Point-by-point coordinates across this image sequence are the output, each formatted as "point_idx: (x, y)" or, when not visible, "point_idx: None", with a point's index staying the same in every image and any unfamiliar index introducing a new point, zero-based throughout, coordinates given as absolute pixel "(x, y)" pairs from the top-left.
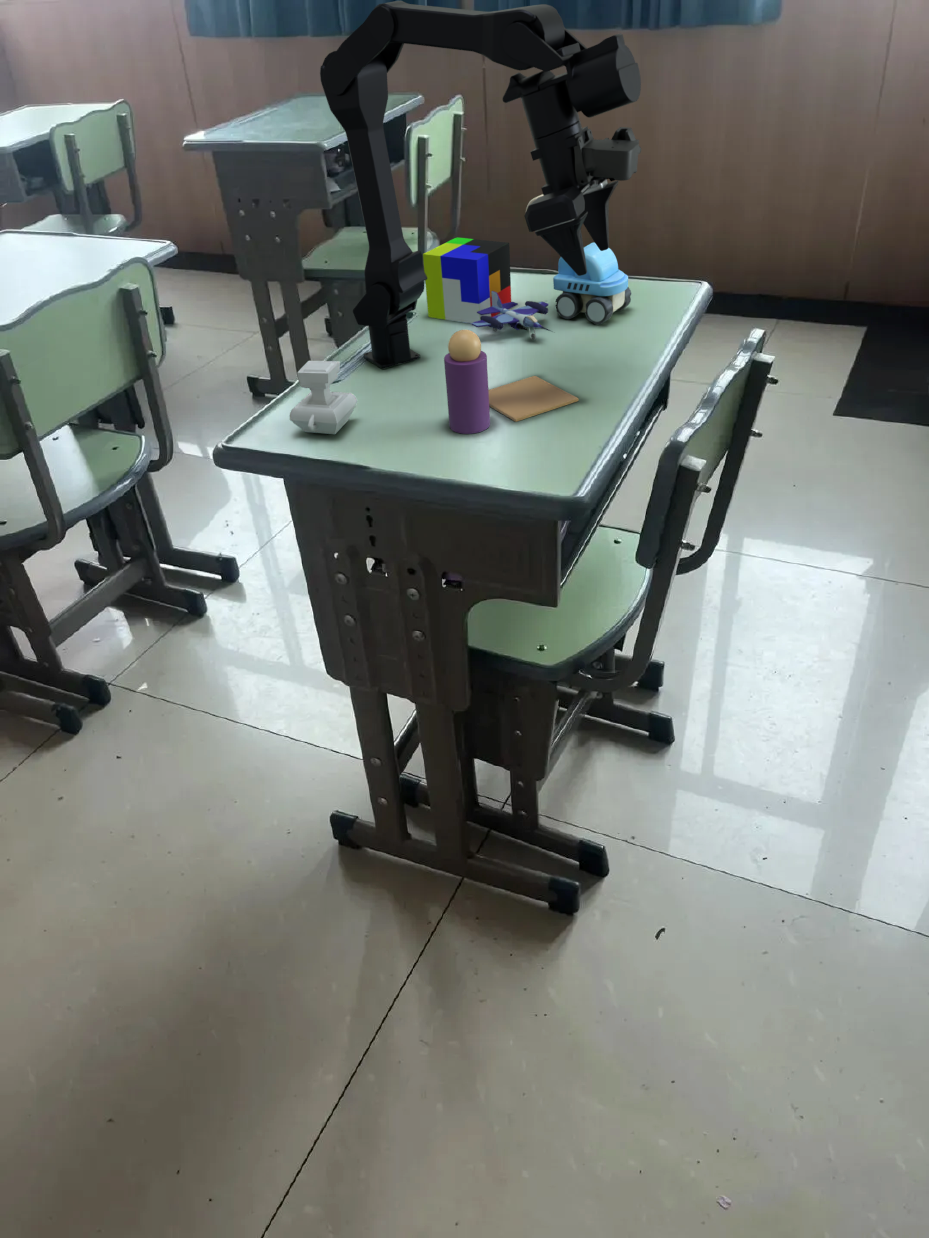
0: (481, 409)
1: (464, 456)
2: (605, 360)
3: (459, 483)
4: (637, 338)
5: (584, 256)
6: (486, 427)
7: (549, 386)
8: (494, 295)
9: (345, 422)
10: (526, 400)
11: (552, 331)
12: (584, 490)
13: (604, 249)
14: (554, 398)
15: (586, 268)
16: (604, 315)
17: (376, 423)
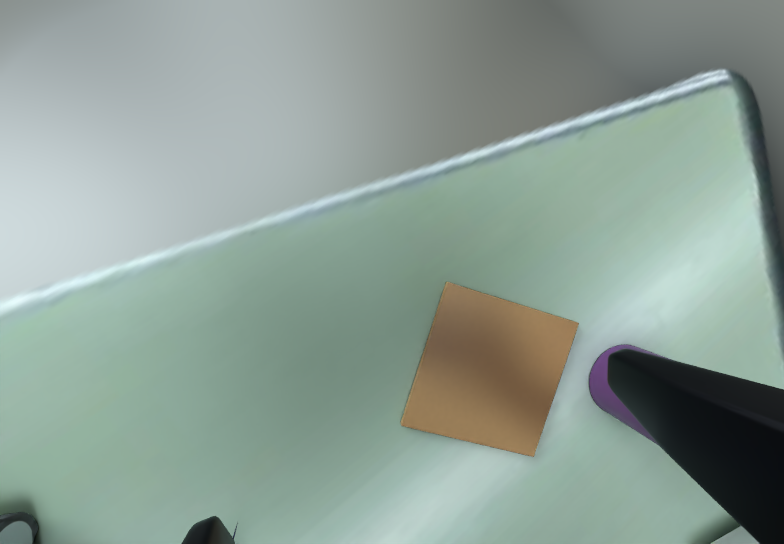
0: (663, 357)
1: (706, 308)
2: (231, 363)
3: (772, 255)
4: (56, 385)
5: (715, 391)
6: (622, 345)
7: (430, 365)
8: None
9: (718, 540)
10: (507, 359)
11: (234, 532)
12: (710, 76)
13: (225, 531)
14: (472, 321)
15: (634, 359)
16: (8, 524)
17: (683, 506)
